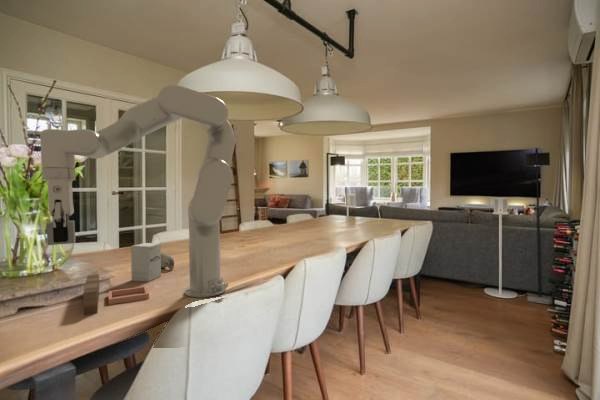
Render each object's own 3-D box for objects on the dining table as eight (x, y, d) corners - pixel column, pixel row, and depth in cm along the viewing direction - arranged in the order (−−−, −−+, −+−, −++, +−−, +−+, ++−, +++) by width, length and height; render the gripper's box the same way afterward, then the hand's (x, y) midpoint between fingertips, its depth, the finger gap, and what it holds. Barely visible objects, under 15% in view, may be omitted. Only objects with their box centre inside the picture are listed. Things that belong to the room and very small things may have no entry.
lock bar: (75, 241, 98) (74, 220, 97) (74, 243, 94) (73, 221, 94) (49, 243, 95) (48, 221, 94) (47, 245, 91) (46, 223, 91)
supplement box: (149, 281, 120) (148, 246, 119) (130, 280, 121) (130, 245, 120) (161, 276, 127) (161, 242, 126) (144, 275, 128) (143, 242, 128)
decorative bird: (166, 272, 133) (166, 253, 133) (143, 266, 142) (142, 249, 142) (178, 269, 138) (178, 251, 137) (154, 264, 146) (154, 247, 146)
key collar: (146, 290, 110) (146, 286, 110) (149, 298, 102) (149, 293, 102) (108, 295, 104) (108, 291, 104) (108, 304, 97) (108, 299, 97)
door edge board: (97, 312, 91) (96, 290, 90) (84, 315, 89) (83, 292, 89) (99, 292, 108) (98, 273, 108) (88, 293, 107) (87, 274, 106)
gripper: (72, 174, 88) (75, 244, 89) (77, 175, 103) (80, 235, 104) (36, 174, 84) (39, 246, 85) (47, 175, 99) (49, 237, 100)
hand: (61, 239), depth 94 cm, fingers closed on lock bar, 4 cm apart
